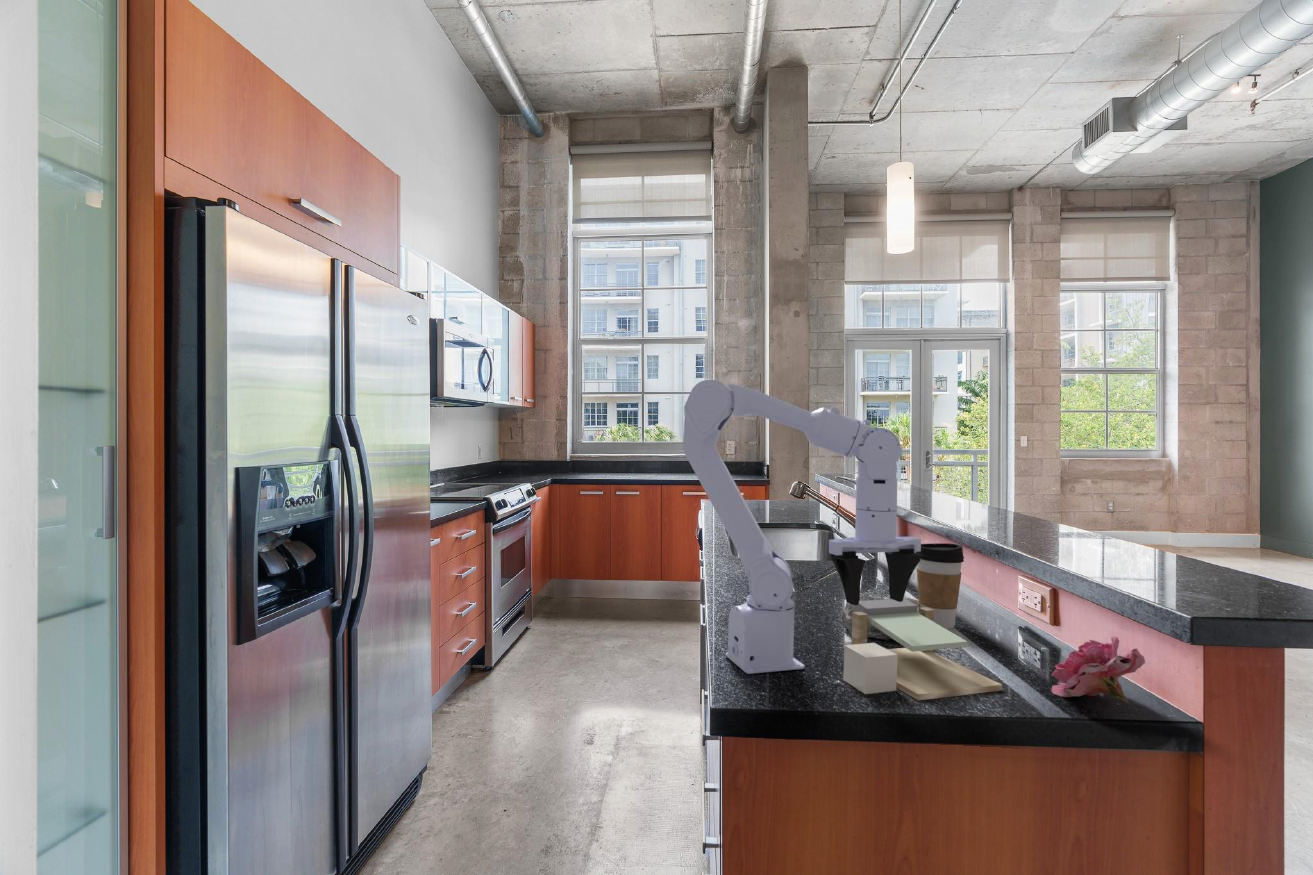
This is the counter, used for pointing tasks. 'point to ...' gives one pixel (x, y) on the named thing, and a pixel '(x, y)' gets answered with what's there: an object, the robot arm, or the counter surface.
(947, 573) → the coffee cup
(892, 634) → the trapdoor
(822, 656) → the counter surface
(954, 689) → the stand
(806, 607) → the counter surface
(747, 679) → the counter surface
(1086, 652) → the flower
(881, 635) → the rock
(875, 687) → the cream cube
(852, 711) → the counter surface
